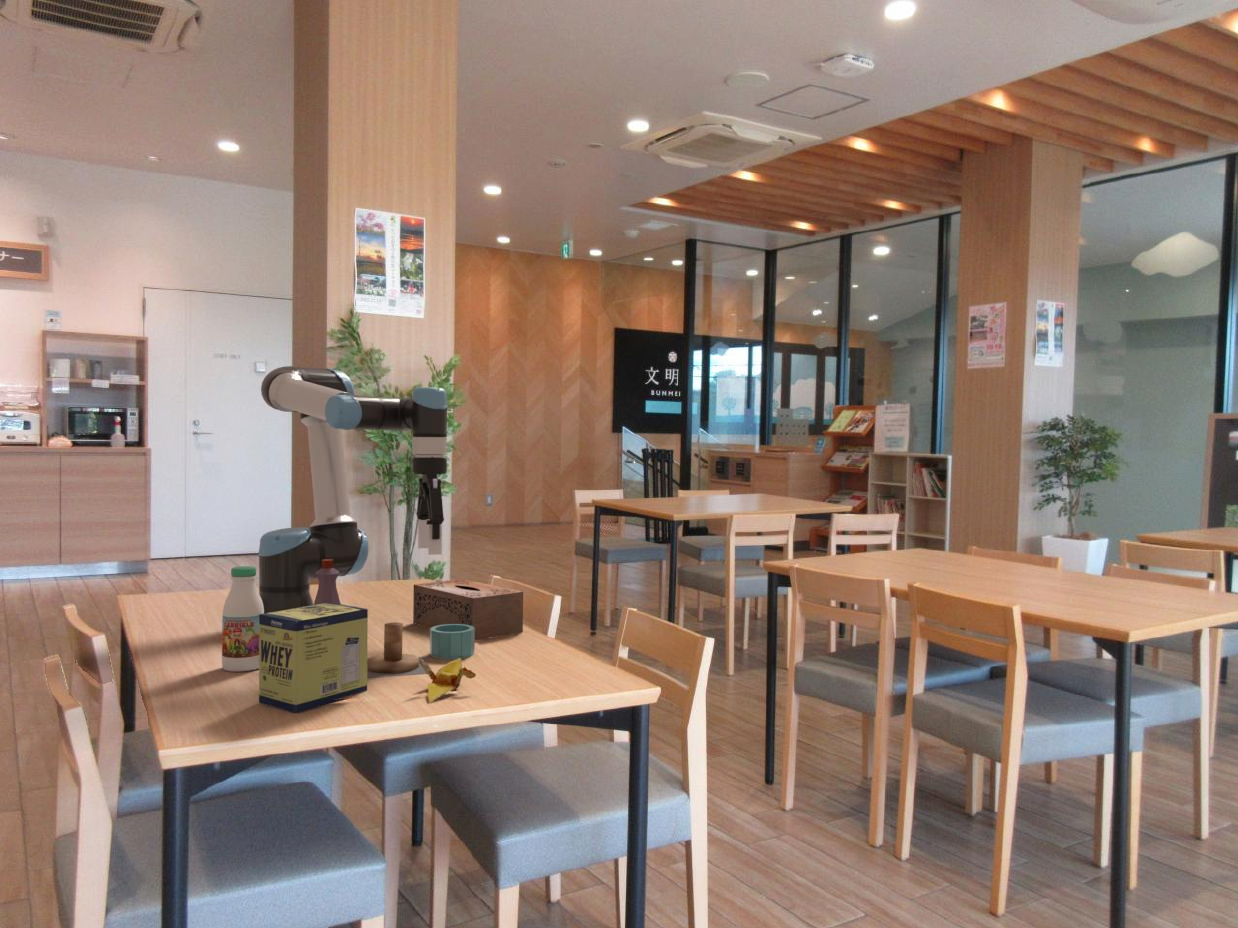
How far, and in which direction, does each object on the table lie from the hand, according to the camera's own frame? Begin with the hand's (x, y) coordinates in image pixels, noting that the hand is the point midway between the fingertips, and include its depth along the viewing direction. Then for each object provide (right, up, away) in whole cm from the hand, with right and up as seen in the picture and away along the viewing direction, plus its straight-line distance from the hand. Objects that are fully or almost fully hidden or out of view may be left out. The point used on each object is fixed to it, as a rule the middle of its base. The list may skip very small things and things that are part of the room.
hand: (429, 551), depth 201 cm
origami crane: (+11, -22, -37) cm, 44 cm away
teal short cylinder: (+7, -21, -11) cm, 25 cm away
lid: (-2, -21, -23) cm, 31 cm away
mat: (-2, -21, -23) cm, 32 cm away
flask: (-20, -21, -10) cm, 31 cm away
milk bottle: (-32, -21, -23) cm, 45 cm away
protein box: (-11, -22, -43) cm, 50 cm away
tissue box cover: (+5, -21, +19) cm, 29 cm away
